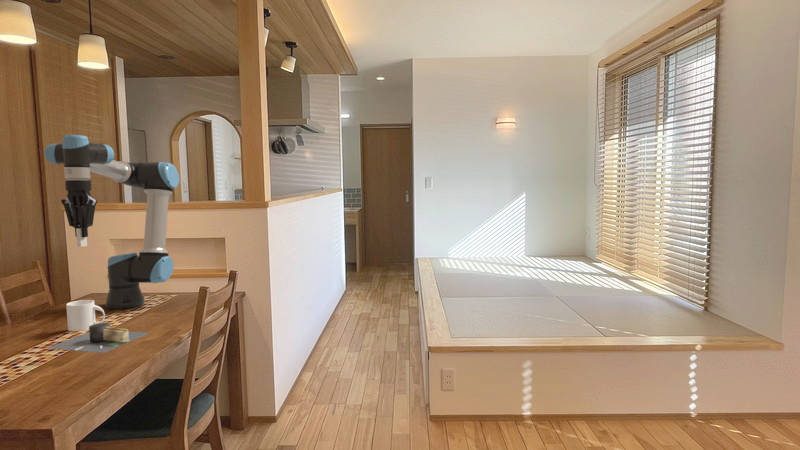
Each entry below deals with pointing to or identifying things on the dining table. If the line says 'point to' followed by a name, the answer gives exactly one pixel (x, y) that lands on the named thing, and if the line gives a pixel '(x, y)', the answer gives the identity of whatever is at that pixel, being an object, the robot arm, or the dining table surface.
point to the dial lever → (107, 333)
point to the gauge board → (85, 345)
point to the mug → (82, 315)
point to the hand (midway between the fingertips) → (82, 246)
